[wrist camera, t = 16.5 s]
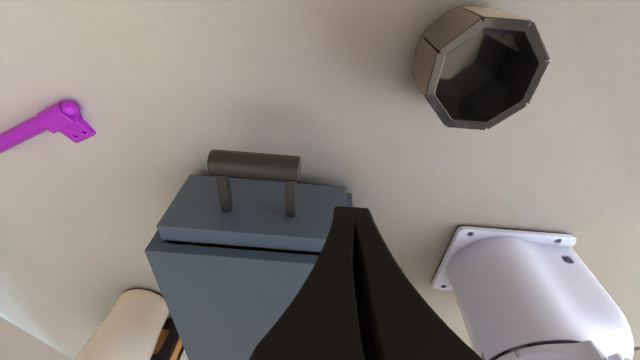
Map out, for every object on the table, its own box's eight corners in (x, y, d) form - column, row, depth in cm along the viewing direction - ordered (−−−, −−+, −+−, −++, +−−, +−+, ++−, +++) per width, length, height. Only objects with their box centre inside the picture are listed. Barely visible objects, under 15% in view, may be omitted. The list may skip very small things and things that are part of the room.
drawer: (178, 120, 20) (135, 166, 16) (353, 134, 20) (358, 183, 16) (215, 286, 30) (195, 340, 26) (330, 295, 30) (329, 350, 26)
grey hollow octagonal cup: (525, 9, 16) (569, 23, 13) (487, 103, 19) (515, 132, 16) (426, 1, 16) (447, 13, 13) (404, 96, 19) (416, 124, 16)
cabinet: (189, 180, 24) (144, 250, 18) (352, 193, 24) (356, 267, 18) (215, 291, 32) (189, 362, 27) (334, 300, 32) (333, 373, 27)
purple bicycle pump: (69, 93, 20) (-72, 168, 24) (60, 105, 19) (-84, 180, 24) (106, 123, 22) (-31, 188, 26) (99, 135, 21) (-41, 199, 25)
